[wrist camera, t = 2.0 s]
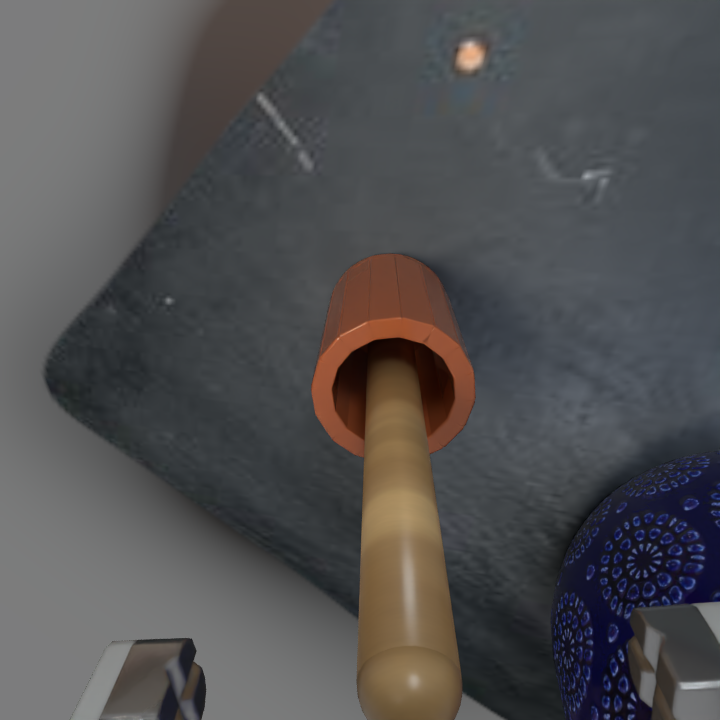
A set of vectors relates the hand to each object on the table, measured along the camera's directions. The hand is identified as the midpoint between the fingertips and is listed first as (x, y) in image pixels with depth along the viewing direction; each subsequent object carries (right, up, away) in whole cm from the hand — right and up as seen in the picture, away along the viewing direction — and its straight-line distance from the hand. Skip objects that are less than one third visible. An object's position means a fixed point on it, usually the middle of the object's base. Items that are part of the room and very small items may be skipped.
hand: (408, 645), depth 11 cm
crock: (0, +8, +16) cm, 18 cm away
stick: (0, +7, +15) cm, 17 cm away
